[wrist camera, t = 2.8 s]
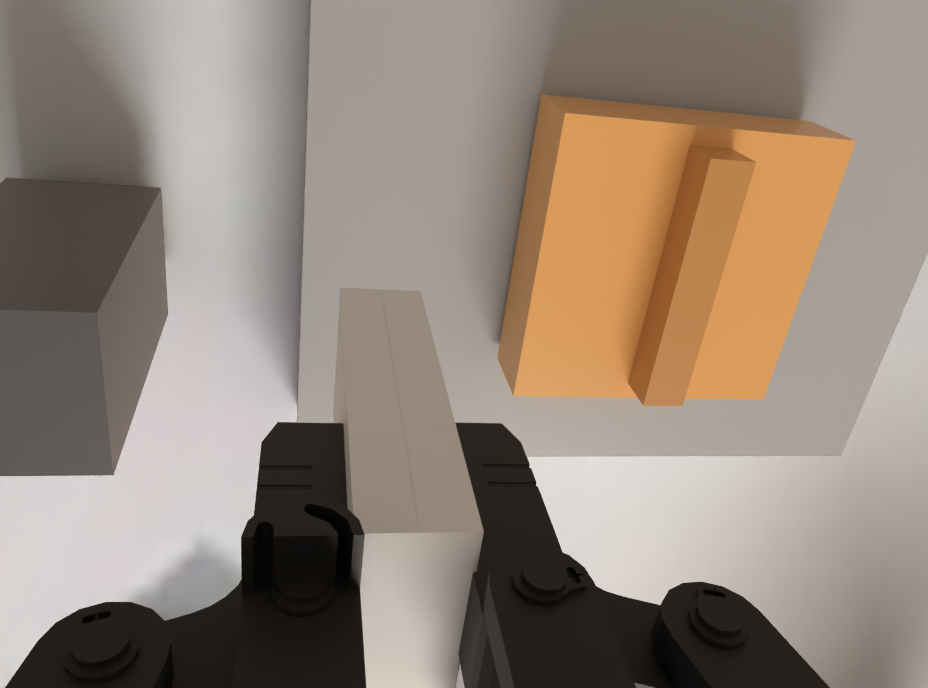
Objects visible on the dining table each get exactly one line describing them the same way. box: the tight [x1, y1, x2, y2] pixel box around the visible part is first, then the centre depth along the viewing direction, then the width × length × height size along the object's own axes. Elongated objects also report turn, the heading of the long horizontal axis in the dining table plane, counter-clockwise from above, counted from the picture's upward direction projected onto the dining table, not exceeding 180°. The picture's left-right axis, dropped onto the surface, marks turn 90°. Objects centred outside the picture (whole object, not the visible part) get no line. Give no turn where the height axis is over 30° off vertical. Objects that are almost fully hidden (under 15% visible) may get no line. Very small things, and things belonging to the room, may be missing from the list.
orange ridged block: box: [497, 94, 856, 406], centre depth 22 cm, size 8×8×3 cm
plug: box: [0, 178, 168, 476], centre depth 20 cm, size 4×4×9 cm
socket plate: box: [297, 0, 928, 457], centre depth 25 cm, size 20×16×3 cm
